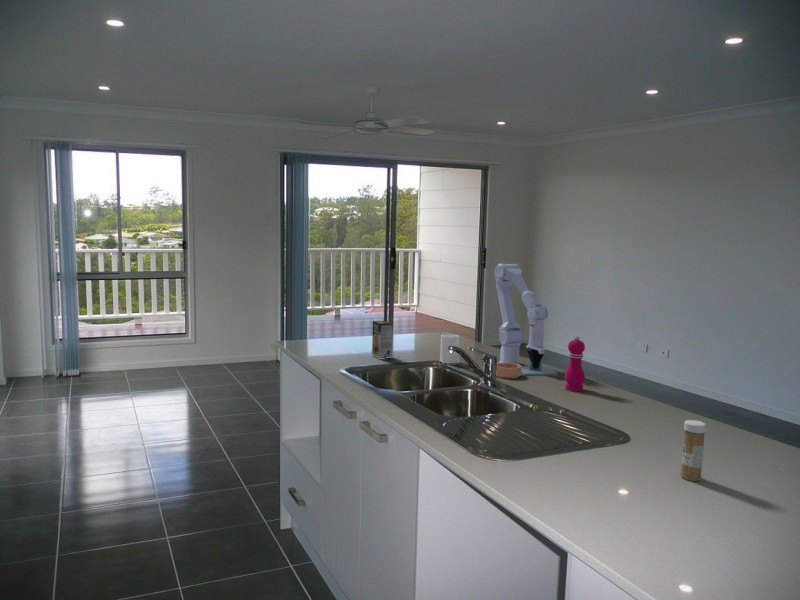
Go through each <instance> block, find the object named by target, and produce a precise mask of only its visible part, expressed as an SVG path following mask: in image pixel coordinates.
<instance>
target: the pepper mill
mask: <svg viewBox="0 0 800 600" xmlns="http://www.w3.org/2000/svg"><path fill="white" fill-rule="evenodd" d="M567 349H568V351H569V352H568V357H569V365H568V368H567V369H566V371H565V374H564V380H565V381H566V383H565V387H564V388H565V390H567V391H569V390H571V392H582V391H583V390H584V384H583V383H584V382H585V381H586V375H585V372H584V370H583V367H582V360H583V358H584V353H583V352H584V351H585V349H586V345H585V343H584V342H583V341H582V340H580V336H579V335H575V336H574V339H572V340H570V342H568V345H567Z"/></svg>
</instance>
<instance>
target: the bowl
mask: <svg viewBox="0 0 800 600" xmlns="http://www.w3.org/2000/svg"><path fill="white" fill-rule="evenodd" d="M519 364H520V363H519ZM519 364H513V363H498V362H497V370H496V376H495V377H497V378H499V379H500V378H501V379H511V380H513V379H518V378H520V376H521V374H522V366H523V365H521V364H520V365H521V366H520V365H519Z"/></svg>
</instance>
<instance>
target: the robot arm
mask: <svg viewBox="0 0 800 600" xmlns="http://www.w3.org/2000/svg"><path fill="white" fill-rule="evenodd" d="M522 272H523V270H522V269H521V266H520V265H519V264H518V263H497V265H496V266H495V269H494V270H493V273H494V279H495V286H496V292H497V297H498V303H499V308H500V313H501V321H502V324H501V326H500V327H499V328H498V340H499V343H500V345H501V346H500V349H499V350H500V357H499V360H498V361H499V363H513V364H519V365H520V366H522V365H521V364H520V346H521V345H522V343H523V342H524V339H525V334H524V332H523V330H522V327H521V325H520V323H518V322H517V321H516V317H515V313H514V312H515V311H514V306H513V300H512V294H511V290H510V287H511V285H512V284H513V285H514V286H515V288H517V290H518V292H519V293H520V295H521V297H520V300H521V301H522V303H523V305H524V307H525V308H526V310H527V312H526V315H527V318H528V323H529V336H528V337H529V338H528V342H527V345H525V348H527V349H528V350H526V351H527V353H528V356H529V361H530V362H532V366H533V369H538V368H539V365H540V362H541V361H542V359H543V357H544V355H545V351H546V350H545V348H544V347H545V346H544V333H545V320H546V319H547V318H548V314H549V312H548V309H547V307H546V306H545V305H543V304H541V303H540V302H539V300H538V298H537V297H536V294H535V292H534V291H532V290H529V288H528V286H527V284H526V282H525V280H524V278H523V276H522Z"/></svg>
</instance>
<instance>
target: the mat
mask: <svg viewBox="0 0 800 600" xmlns="http://www.w3.org/2000/svg"><path fill="white" fill-rule="evenodd" d="M521 376H522V377H525V376H524V375H522V374H521ZM560 376H561V375H560V374H558V375H528V376H527V377H560Z"/></svg>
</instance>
